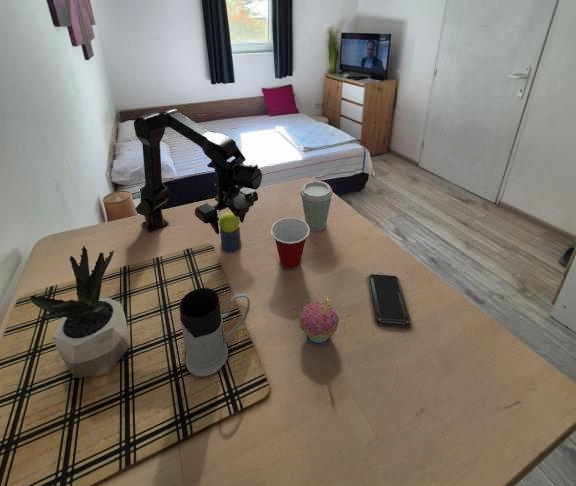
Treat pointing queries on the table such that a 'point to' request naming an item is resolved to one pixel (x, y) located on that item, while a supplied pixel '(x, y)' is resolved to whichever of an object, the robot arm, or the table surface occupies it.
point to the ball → (229, 222)
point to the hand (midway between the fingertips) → (229, 227)
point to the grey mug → (205, 330)
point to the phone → (388, 300)
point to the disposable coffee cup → (316, 203)
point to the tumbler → (230, 240)
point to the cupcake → (318, 321)
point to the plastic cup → (290, 240)
